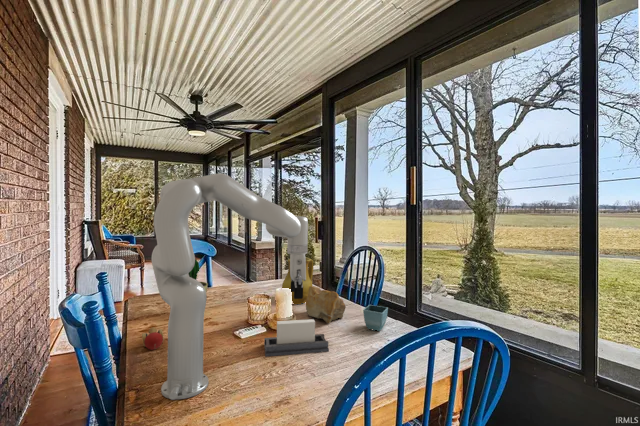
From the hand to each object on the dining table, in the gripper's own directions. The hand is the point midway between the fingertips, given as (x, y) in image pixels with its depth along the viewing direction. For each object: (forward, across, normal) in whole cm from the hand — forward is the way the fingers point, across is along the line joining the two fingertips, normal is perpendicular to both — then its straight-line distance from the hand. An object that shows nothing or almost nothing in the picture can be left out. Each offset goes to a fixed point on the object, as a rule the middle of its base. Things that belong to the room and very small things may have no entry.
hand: (296, 294), depth 118 cm
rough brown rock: (+20, +30, -20) cm, 41 cm away
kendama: (+21, +15, +53) cm, 59 cm away
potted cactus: (+20, +44, +45) cm, 66 cm away
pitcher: (+20, +59, -10) cm, 63 cm away
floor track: (+20, 0, 0) cm, 20 cm away
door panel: (+19, 0, 0) cm, 19 cm away
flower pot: (+20, +13, -37) cm, 44 cm away
